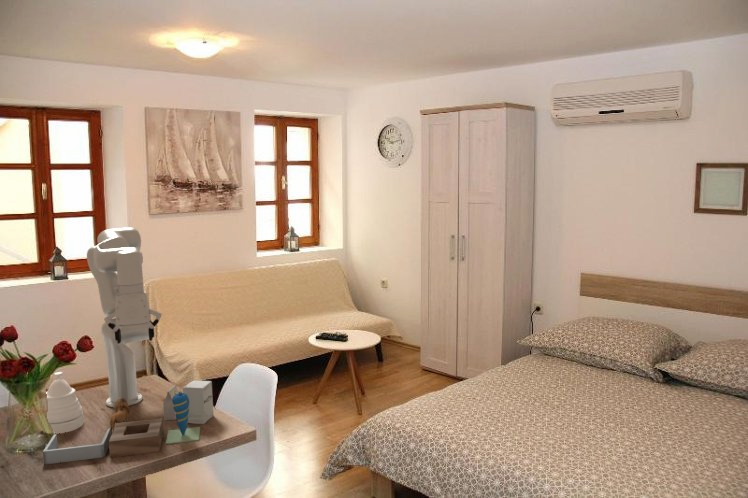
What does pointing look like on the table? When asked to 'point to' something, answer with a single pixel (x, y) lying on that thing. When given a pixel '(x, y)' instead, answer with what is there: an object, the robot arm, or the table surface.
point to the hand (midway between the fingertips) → (135, 341)
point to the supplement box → (199, 401)
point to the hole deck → (136, 437)
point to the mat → (189, 435)
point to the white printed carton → (170, 404)
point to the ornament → (181, 410)
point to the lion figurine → (119, 412)
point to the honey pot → (63, 406)
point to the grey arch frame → (75, 451)
